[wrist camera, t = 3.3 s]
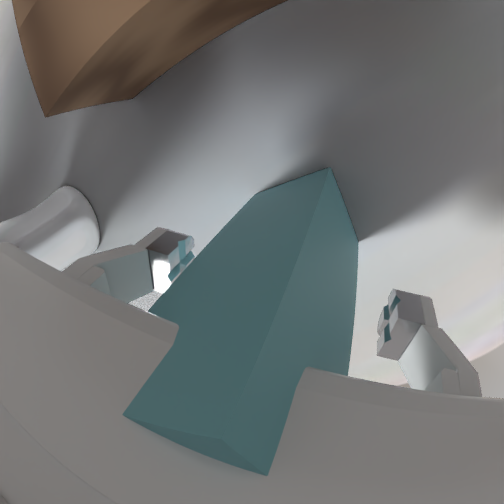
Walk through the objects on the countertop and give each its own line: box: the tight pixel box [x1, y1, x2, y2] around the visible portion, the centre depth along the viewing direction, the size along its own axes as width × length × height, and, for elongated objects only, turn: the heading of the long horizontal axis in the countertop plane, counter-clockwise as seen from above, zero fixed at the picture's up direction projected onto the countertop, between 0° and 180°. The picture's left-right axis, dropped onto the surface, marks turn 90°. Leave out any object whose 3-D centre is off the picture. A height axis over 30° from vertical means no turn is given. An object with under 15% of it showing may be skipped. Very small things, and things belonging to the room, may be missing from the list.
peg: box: [122, 167, 358, 476], centre depth 9 cm, size 4×4×12 cm
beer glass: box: [0, 186, 100, 271], centre depth 14 cm, size 7×7×15 cm
